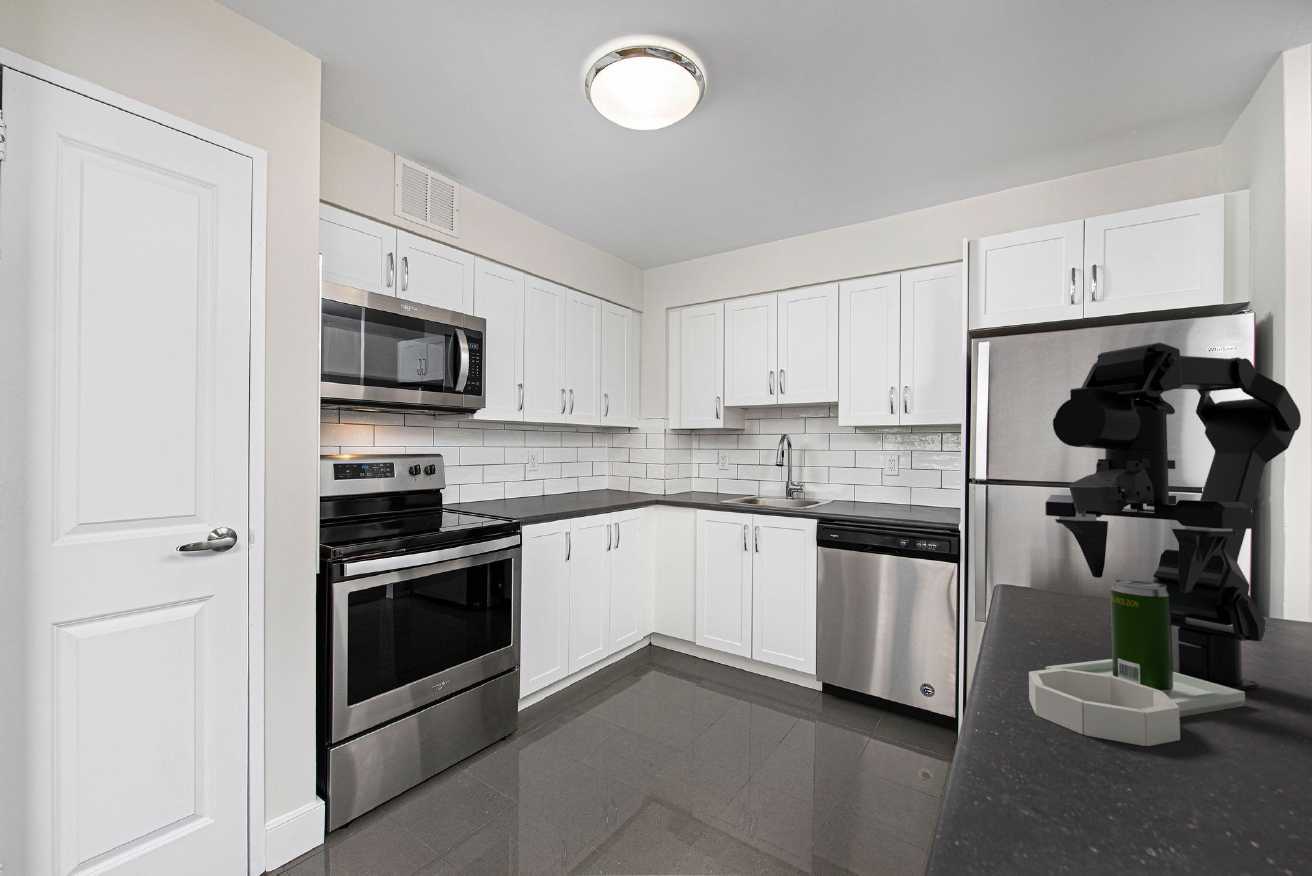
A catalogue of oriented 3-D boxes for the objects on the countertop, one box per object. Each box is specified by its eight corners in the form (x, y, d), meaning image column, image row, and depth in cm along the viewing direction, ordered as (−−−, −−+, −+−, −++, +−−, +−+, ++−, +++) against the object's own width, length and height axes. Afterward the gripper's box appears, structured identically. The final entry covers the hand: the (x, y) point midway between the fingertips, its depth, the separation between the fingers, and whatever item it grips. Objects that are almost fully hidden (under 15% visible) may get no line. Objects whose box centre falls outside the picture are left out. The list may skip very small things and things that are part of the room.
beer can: (1163, 700, 63) (1159, 589, 64) (1104, 684, 68) (1102, 581, 69) (1181, 691, 66) (1177, 585, 67) (1124, 677, 71) (1121, 577, 72)
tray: (1123, 669, 76) (1122, 657, 76) (1245, 705, 64) (1244, 691, 64) (1045, 679, 71) (1045, 666, 71) (1161, 720, 59) (1161, 705, 60)
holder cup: (1081, 692, 67) (1080, 665, 67) (1203, 735, 56) (1202, 703, 56) (1006, 702, 63) (1006, 674, 63) (1121, 751, 52) (1120, 716, 52)
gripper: (1013, 450, 75) (1014, 572, 74) (1184, 444, 57) (1189, 604, 56) (1074, 454, 79) (1076, 570, 78) (1253, 449, 61) (1258, 600, 60)
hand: (1138, 584), depth 68 cm, fingers open, 9 cm apart
